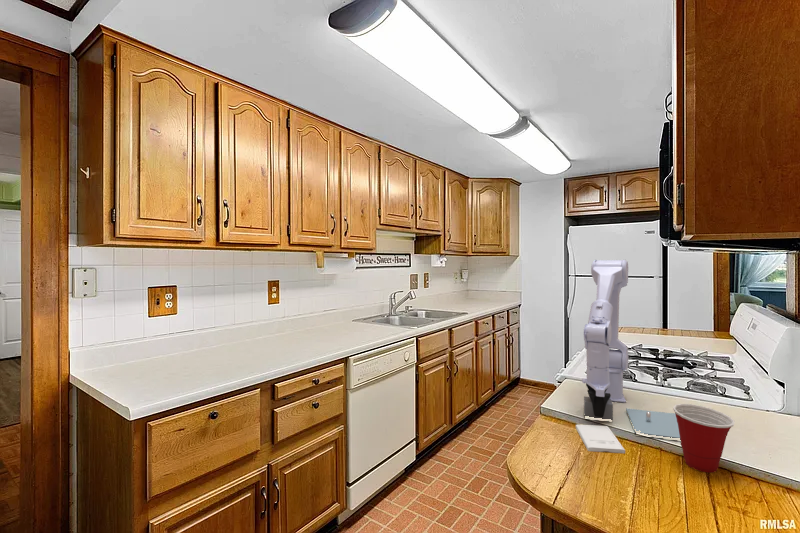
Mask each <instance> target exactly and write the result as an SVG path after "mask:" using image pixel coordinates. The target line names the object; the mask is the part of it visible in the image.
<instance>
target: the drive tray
mask: <svg viewBox="0 0 800 533" xmlns="http://www.w3.org/2000/svg"><path fill="white" fill-rule="evenodd" d="M626 411H627V413H628V415H629V418H630V420H631V422H632V424H633V426H634V429H636V431H639V430H640V431H641V432H640V433H644V434H648V435H656V436H663V437H670V438H671V437H672V438H680V434H679V428H678V423H677V418H676V414H675V412H674V413H671V412H663V411H654V410H646V409H637V408H636V409H634V408H627V407H626V409H625V412H626ZM627 413H626V414H627ZM628 415H627V416H628ZM629 418H628V419H629ZM630 420H629V421H630Z"/></svg>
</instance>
